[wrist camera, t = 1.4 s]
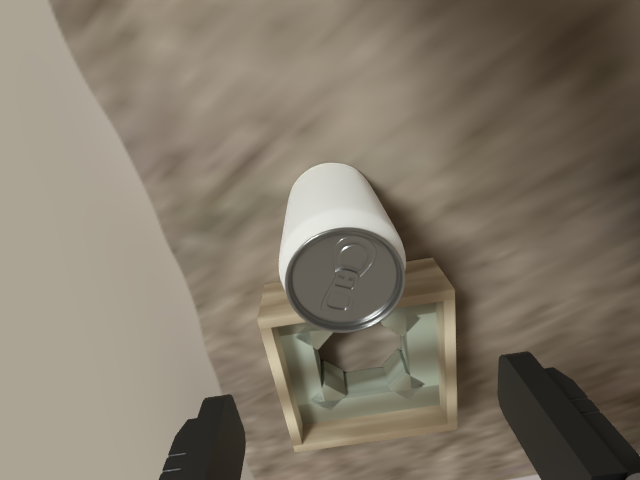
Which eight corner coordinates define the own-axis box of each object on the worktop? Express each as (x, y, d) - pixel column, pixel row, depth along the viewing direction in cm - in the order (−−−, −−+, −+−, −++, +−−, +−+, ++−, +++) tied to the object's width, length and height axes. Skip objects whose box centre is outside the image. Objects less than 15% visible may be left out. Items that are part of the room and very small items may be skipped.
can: (385, 173, 27) (437, 238, 16) (358, 250, 30) (387, 351, 19) (300, 150, 26) (294, 202, 15) (279, 231, 29) (262, 325, 18)
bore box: (264, 284, 31) (257, 320, 26) (432, 257, 30) (454, 289, 25) (296, 405, 36) (294, 452, 32) (438, 384, 36) (457, 429, 31)
